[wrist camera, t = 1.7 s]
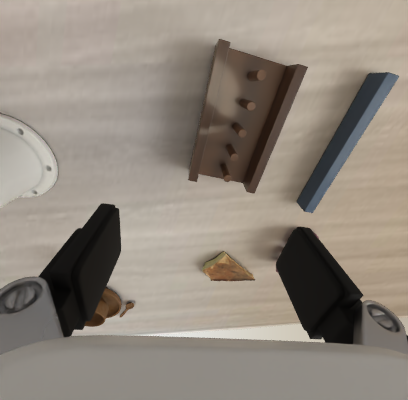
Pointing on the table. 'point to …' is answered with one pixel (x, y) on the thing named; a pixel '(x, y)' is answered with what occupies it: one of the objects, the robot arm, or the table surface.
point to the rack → (242, 115)
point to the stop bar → (346, 137)
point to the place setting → (107, 308)
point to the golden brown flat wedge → (225, 269)
